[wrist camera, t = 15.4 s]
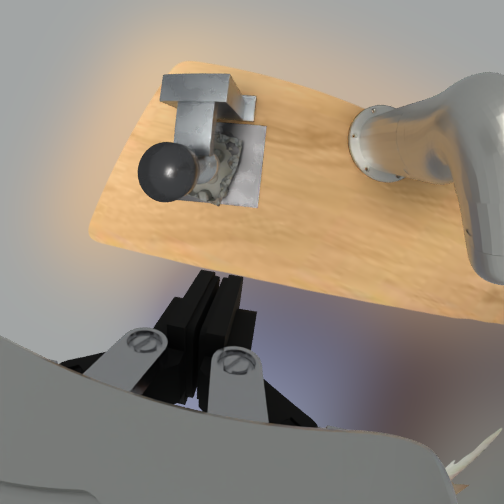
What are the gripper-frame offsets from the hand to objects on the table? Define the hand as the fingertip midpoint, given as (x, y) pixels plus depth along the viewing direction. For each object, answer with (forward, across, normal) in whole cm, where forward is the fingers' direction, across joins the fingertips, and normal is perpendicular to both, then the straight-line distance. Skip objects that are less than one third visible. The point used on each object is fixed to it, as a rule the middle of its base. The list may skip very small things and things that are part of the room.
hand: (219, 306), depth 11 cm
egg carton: (+36, +9, -3) cm, 37 cm away
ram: (+26, +8, -3) cm, 27 cm away
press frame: (+36, +8, -5) cm, 37 cm away
